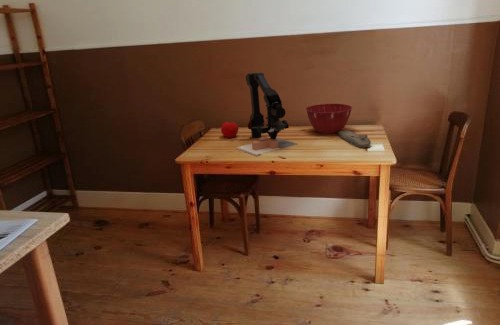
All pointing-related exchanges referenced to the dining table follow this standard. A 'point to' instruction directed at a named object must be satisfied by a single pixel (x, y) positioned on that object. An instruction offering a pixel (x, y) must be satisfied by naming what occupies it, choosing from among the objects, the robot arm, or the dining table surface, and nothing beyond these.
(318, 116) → the mixing bowl
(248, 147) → the board
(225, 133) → the tomato
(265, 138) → the t block
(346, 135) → the grey wooden log
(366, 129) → the dining table surface
